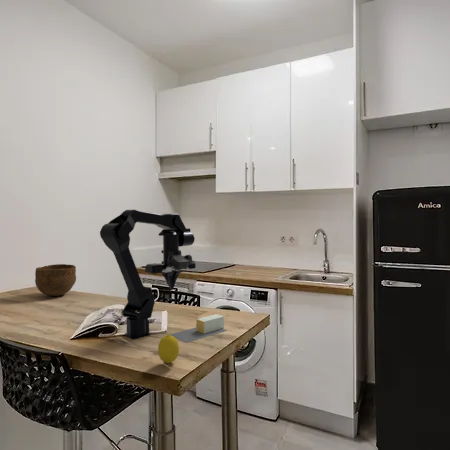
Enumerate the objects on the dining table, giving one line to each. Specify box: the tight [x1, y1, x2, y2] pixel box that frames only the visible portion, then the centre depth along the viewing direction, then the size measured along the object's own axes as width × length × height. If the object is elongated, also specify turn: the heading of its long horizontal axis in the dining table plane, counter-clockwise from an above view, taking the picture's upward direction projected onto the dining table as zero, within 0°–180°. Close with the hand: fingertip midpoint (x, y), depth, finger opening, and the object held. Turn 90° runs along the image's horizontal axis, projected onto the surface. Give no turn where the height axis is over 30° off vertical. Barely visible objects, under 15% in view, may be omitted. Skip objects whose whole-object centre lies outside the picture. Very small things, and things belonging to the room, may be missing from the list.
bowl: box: [34, 263, 77, 297], centre depth 175 cm, size 19×19×15 cm
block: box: [195, 313, 225, 334], centre depth 120 cm, size 4×4×9 cm
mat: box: [169, 326, 228, 344], centre depth 117 cm, size 17×10×1 cm, turn 131°
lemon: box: [157, 333, 180, 365], centre depth 93 cm, size 6×6×8 cm
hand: (171, 289), depth 128 cm, fingers closed
